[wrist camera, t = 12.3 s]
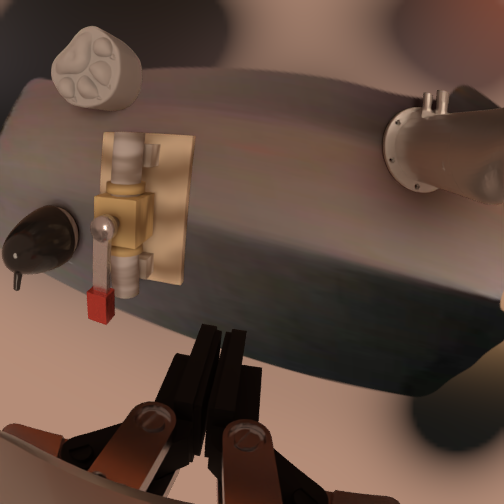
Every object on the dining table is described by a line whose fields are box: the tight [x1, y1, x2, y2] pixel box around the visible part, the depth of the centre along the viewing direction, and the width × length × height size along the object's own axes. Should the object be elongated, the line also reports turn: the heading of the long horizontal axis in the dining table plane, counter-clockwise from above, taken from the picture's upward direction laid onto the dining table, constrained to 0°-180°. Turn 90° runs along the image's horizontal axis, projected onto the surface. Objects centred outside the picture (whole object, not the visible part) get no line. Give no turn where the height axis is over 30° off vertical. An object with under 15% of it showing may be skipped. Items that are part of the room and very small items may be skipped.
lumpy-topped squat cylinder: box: [51, 26, 142, 111], centre depth 33 cm, size 10×13×9 cm
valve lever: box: [87, 214, 118, 325], centre depth 34 cm, size 14×3×2 cm, turn 168°
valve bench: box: [94, 132, 196, 299], centre depth 38 cm, size 22×14×11 cm, turn 172°
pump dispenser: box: [2, 205, 78, 291], centre depth 39 cm, size 10×10×15 cm
